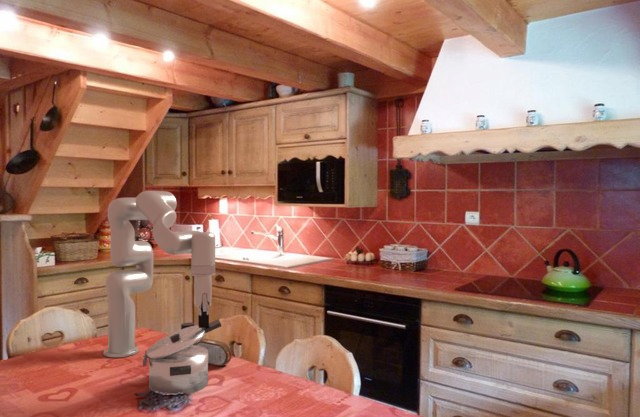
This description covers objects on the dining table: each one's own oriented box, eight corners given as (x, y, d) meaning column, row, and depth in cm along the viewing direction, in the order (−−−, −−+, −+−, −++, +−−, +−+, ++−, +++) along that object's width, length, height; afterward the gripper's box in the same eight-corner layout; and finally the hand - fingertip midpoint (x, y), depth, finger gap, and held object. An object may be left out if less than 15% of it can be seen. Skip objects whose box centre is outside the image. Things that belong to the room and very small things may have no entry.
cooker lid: (146, 347, 154) (143, 340, 154) (217, 317, 162) (215, 310, 161) (144, 367, 136) (141, 359, 136) (224, 332, 144) (221, 324, 143)
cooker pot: (144, 374, 156) (144, 345, 156) (204, 368, 163) (205, 340, 163) (141, 403, 134) (141, 369, 134) (211, 395, 140) (211, 363, 140)
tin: (231, 366, 166) (232, 342, 166) (226, 369, 163) (226, 345, 163) (198, 359, 172) (199, 336, 172) (193, 361, 170) (193, 338, 170)
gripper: (190, 268, 156) (190, 322, 156) (192, 274, 142) (193, 334, 142) (212, 267, 159) (213, 320, 159) (217, 272, 145) (218, 331, 145)
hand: (203, 326), depth 150 cm, fingers closed
